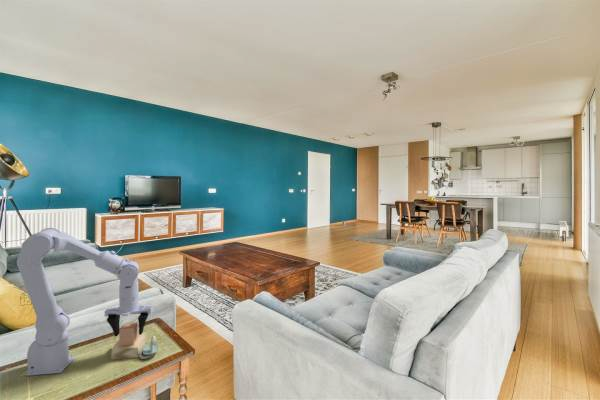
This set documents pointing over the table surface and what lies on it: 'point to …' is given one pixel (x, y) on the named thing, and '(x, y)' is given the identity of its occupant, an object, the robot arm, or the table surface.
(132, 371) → the table surface
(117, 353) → the birch block
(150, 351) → the pacifier
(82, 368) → the table surface
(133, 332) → the terracotta block
